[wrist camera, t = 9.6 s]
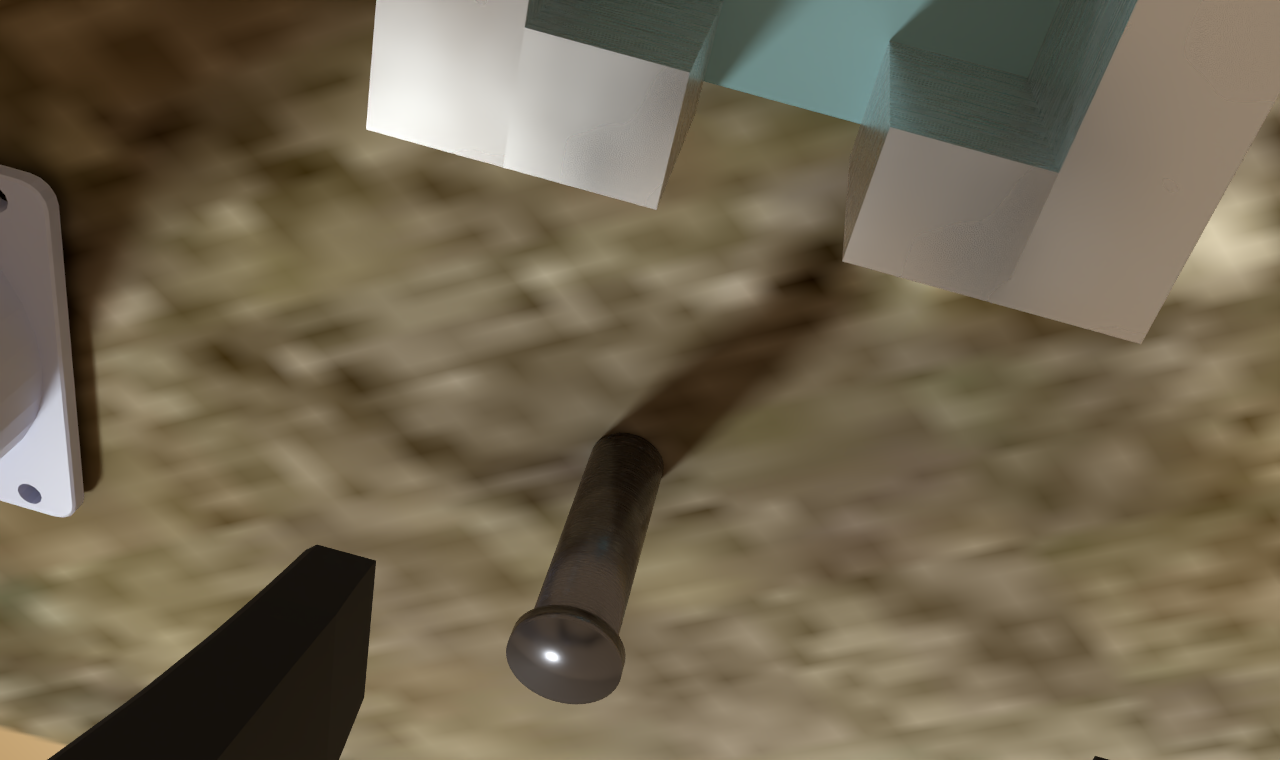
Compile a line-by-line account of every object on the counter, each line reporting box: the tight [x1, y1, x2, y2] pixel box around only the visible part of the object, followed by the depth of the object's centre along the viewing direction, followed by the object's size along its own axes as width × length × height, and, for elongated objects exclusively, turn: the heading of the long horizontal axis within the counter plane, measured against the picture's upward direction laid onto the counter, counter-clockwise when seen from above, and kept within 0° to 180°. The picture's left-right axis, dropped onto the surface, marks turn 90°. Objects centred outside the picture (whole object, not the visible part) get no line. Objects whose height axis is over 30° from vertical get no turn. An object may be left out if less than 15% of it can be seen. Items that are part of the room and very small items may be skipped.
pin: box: [506, 433, 663, 704], centre depth 19 cm, size 2×2×5 cm
